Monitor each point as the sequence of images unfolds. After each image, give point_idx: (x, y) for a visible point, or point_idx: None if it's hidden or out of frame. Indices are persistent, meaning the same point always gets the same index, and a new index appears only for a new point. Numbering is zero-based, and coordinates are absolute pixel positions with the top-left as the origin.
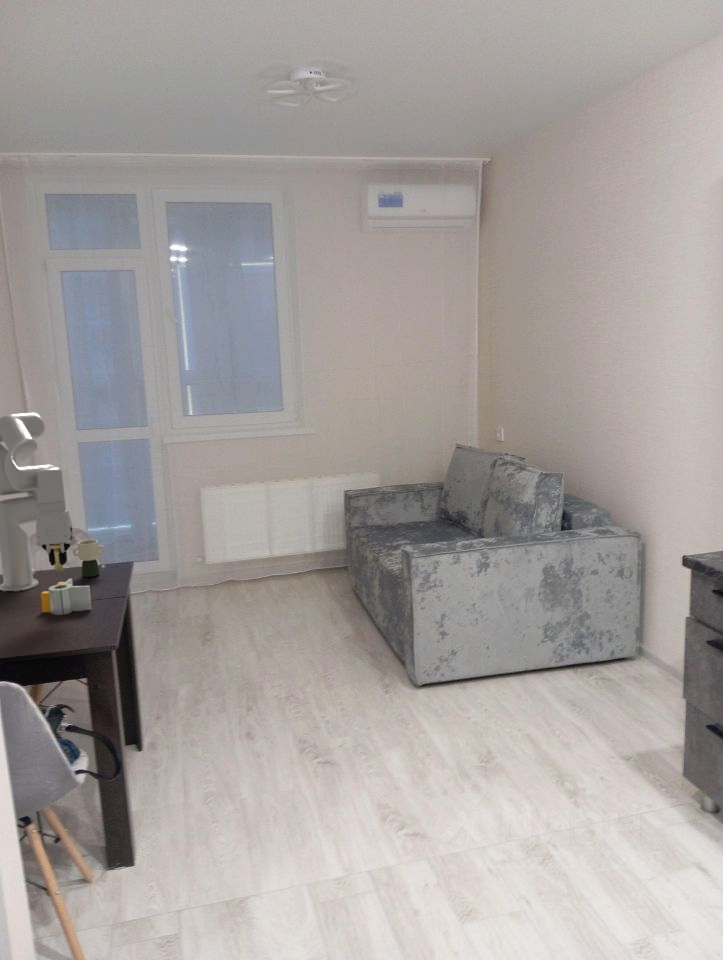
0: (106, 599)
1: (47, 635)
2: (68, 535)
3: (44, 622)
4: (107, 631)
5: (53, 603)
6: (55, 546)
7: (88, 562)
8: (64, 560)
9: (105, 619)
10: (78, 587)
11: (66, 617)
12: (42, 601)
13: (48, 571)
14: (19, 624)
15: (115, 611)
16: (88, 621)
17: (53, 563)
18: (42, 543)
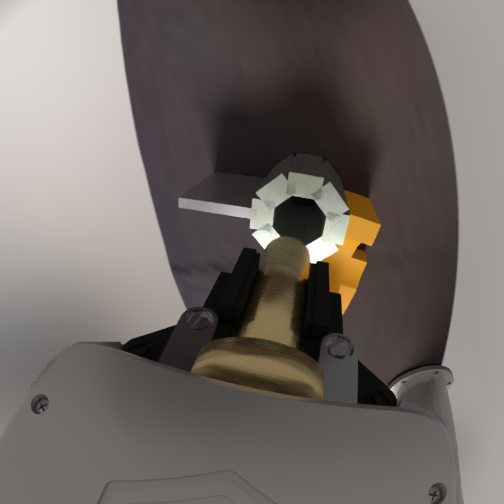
0: (200, 261)
1: None
2: (25, 395)
3: (339, 88)
4: (129, 9)
5: (325, 168)
6: (241, 359)
7: None
8: (225, 274)
9: (151, 88)
10: (219, 201)
11: (276, 120)
12: (372, 211)
13: None
14: (415, 97)
15: (144, 153)
16: (193, 74)
17: (310, 273)
18: (399, 411)
